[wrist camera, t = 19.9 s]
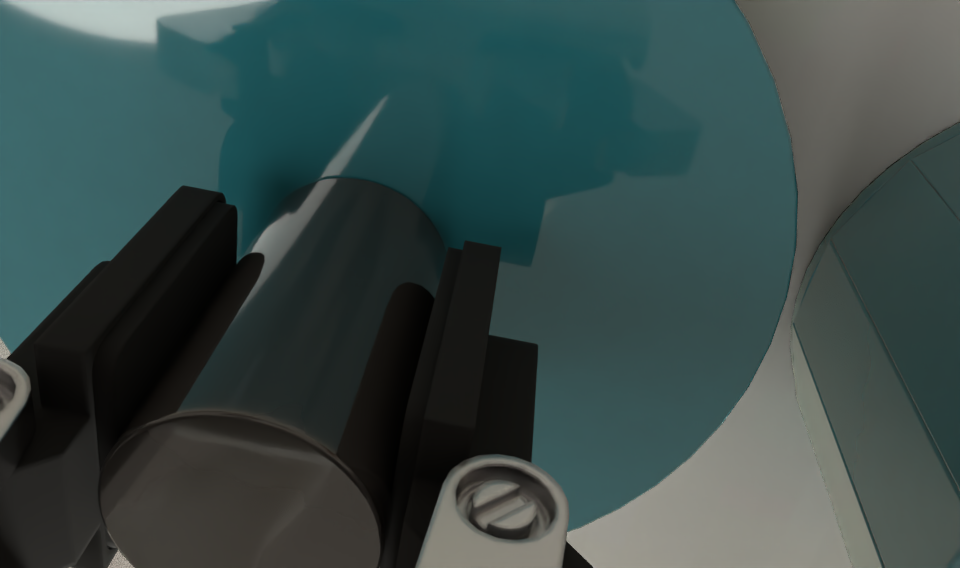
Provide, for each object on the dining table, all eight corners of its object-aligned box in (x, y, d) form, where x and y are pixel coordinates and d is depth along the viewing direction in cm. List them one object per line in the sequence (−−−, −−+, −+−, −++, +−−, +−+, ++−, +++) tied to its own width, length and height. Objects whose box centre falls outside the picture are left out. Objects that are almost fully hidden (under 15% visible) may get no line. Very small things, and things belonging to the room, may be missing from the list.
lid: (19, 450, 18) (-235, 764, 12) (-97, -328, 11) (-811, -433, 5) (650, 571, 18) (687, 937, 12) (934, -121, 11) (1315, -8, 5)
